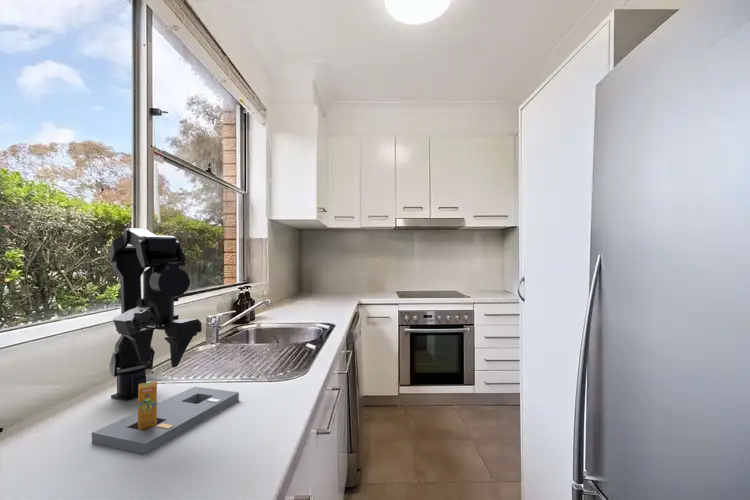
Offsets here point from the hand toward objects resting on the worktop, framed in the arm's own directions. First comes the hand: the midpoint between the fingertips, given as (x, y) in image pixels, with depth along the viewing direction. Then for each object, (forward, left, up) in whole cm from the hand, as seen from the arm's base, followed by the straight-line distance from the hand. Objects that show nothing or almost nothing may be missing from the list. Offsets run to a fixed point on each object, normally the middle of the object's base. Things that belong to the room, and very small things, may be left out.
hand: (158, 364), depth 76 cm
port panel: (+2, +2, -13) cm, 13 cm away
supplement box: (+2, -4, -13) cm, 14 cm away
